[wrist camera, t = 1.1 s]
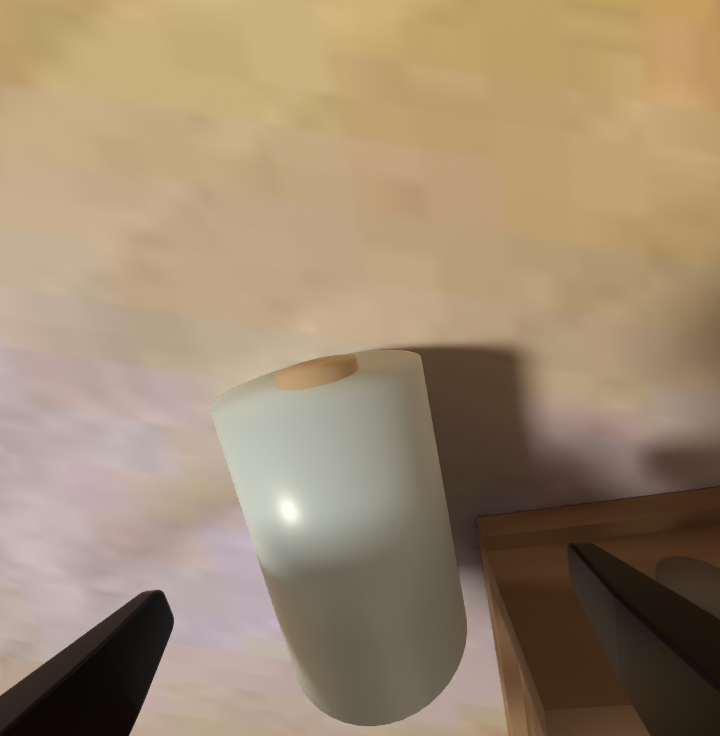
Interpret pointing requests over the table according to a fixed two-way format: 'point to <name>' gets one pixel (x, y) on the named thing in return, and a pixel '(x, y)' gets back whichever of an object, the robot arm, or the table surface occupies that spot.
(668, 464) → the table surface
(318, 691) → the roll
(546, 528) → the holder
